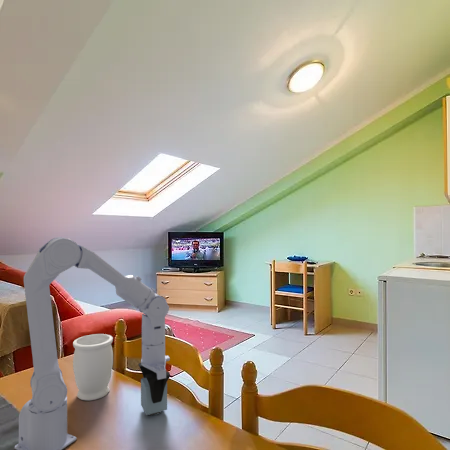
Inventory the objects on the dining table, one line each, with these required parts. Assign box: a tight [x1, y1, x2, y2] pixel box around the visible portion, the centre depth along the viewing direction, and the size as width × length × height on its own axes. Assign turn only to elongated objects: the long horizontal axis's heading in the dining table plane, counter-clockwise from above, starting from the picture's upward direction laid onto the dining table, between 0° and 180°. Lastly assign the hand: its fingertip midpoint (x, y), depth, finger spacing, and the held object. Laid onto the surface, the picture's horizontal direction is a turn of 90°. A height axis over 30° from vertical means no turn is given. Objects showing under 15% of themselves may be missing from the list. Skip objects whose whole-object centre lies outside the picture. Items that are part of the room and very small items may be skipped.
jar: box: [72, 333, 114, 401], centre depth 92 cm, size 11×10×15 cm
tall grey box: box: [140, 377, 168, 416], centre depth 83 cm, size 5×5×7 cm
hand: (153, 396), depth 83 cm, fingers open, 5 cm apart
